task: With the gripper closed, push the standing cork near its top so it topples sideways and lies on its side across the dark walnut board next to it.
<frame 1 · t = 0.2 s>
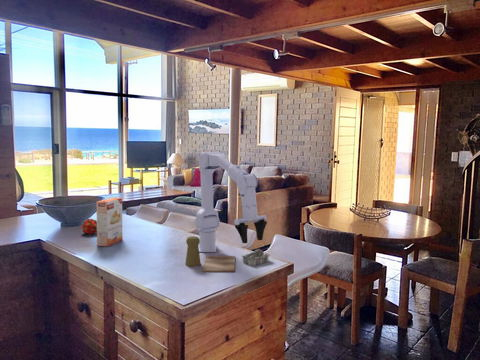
hand: (252, 241, 147), 11 cm above the worktop, tool pointing down, fingers open, 7 cm apart
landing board: (219, 264, 153), on the worktop
cork: (193, 264, 153), on the worktop
cracker box: (110, 243, 184), on the worktop
egg carton: (255, 262, 157), on the worktop
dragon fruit: (91, 234, 202), on the worktop
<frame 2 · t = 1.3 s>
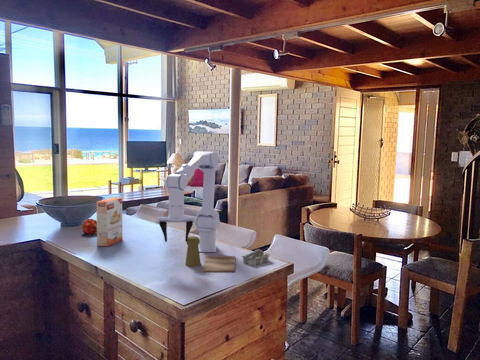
hand: (176, 241, 148), 10 cm above the worktop, tool pointing down, fingers open, 7 cm apart
nothing on the worktop moved.
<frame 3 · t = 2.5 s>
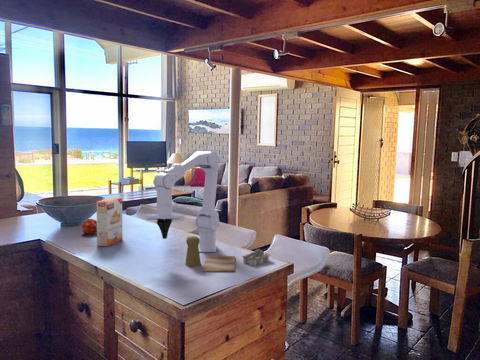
hand: (164, 238, 152), 10 cm above the worktop, tool pointing down, fingers closed
nothing on the worktop moved.
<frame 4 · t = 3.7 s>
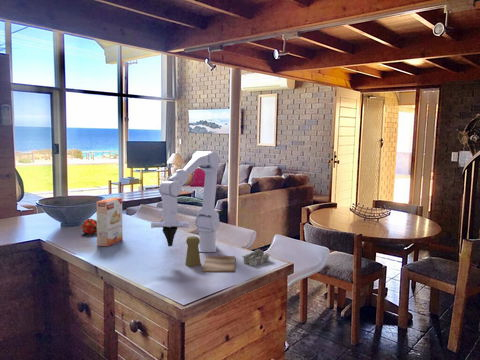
hand: (170, 245, 152), 7 cm above the worktop, tool pointing down, fingers closed
nothing on the worktop moved.
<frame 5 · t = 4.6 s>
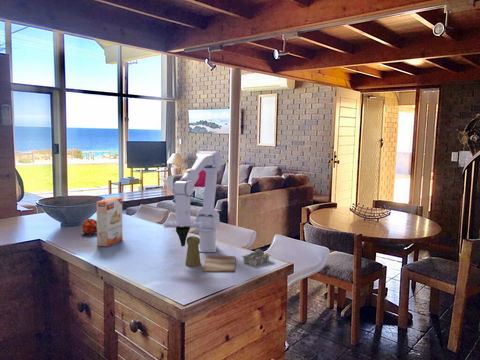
hand: (183, 245, 152), 7 cm above the worktop, tool pointing down, fingers closed
cork: (193, 264, 153), on the worktop, touching gripper
everything else where it was.
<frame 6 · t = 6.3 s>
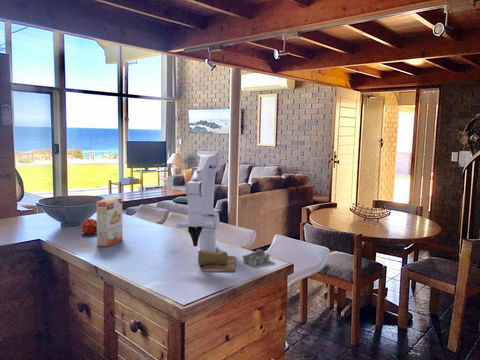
hand: (195, 245, 152), 7 cm above the worktop, tool pointing down, fingers closed
cork: (199, 257, 151), point 3 cm above the worktop, touching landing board
everything else where it was.
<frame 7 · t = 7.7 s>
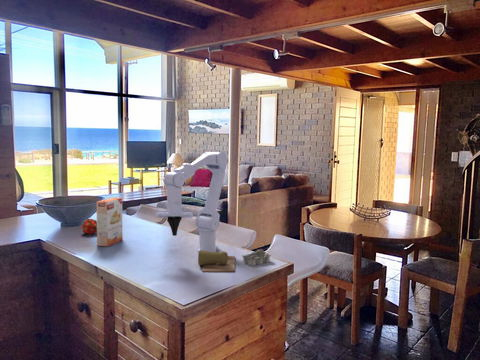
hand: (174, 235, 157), 10 cm above the worktop, tool pointing down, fingers closed
nothing on the worktop moved.
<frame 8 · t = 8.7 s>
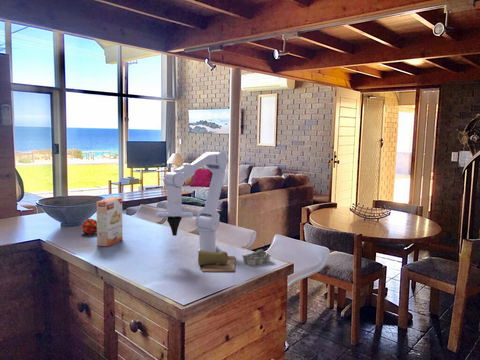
hand: (174, 235, 157), 10 cm above the worktop, tool pointing down, fingers closed
nothing on the worktop moved.
at the end: cork tilted 89°; cork inside the target area (3.6 cm from its centre), point 3.0 cm above the worktop; cork touching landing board, worktop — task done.
